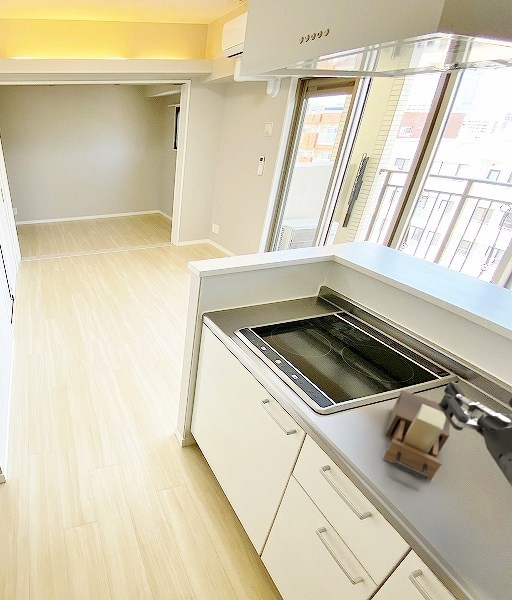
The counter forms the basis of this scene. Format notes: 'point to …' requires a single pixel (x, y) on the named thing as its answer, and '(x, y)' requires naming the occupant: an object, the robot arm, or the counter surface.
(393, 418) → the cabinet
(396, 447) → the drawer
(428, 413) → the cosmetic box
